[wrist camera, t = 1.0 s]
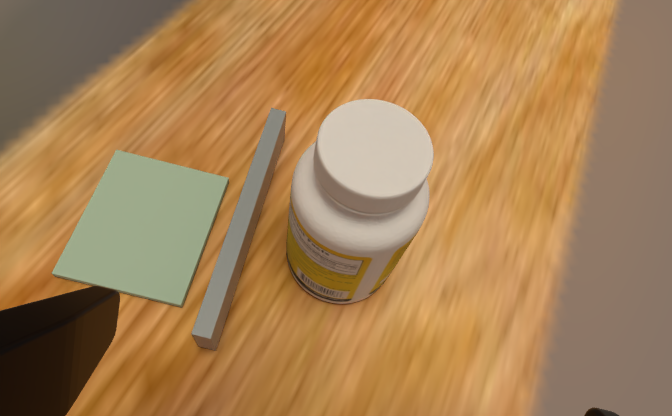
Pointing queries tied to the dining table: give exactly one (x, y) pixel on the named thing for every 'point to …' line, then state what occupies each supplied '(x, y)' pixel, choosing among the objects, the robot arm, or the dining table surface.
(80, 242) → the coaster
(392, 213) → the supplement bottle
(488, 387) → the dining table surface
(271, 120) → the acrylic wall
